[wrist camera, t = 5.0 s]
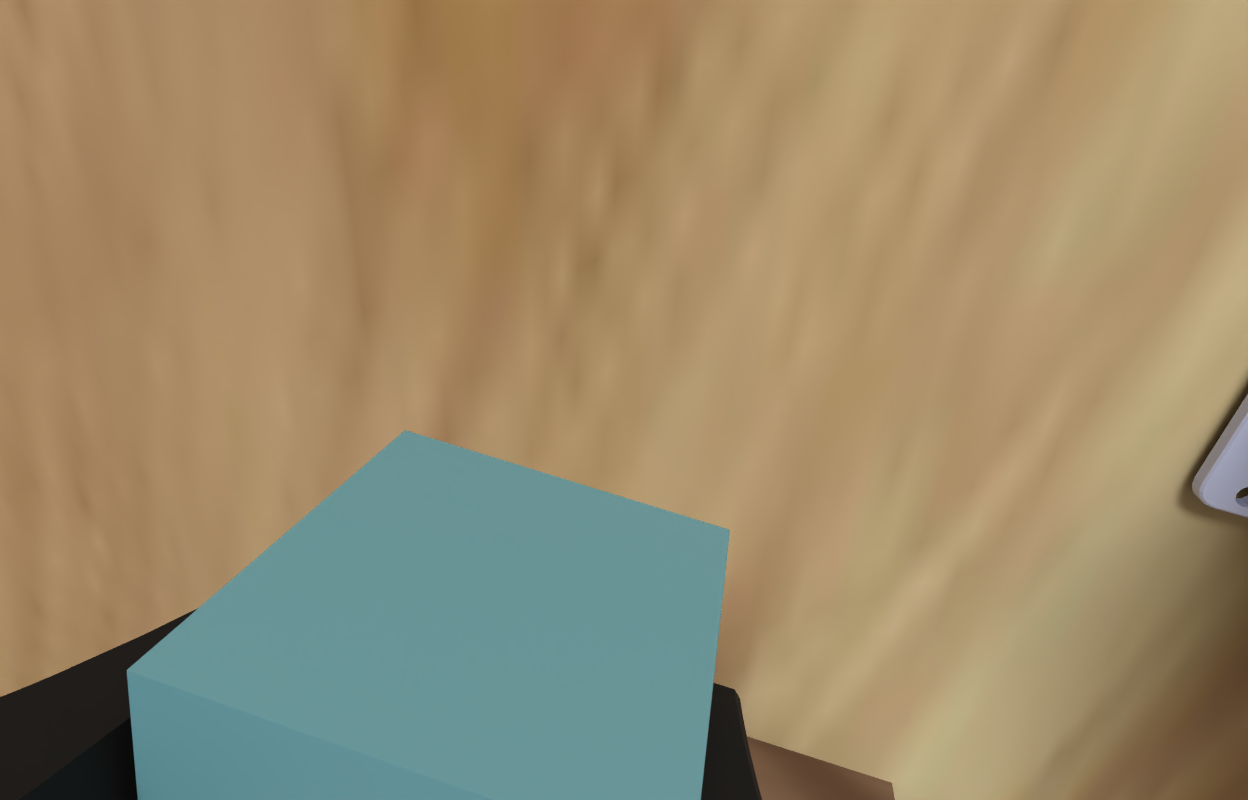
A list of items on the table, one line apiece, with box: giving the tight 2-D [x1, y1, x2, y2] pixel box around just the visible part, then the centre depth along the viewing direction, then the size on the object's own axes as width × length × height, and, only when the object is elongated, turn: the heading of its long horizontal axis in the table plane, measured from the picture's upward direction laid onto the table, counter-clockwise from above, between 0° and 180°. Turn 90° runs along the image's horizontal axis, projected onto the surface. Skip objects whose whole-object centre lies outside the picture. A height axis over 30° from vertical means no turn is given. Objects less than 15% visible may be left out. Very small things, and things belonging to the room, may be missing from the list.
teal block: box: [127, 430, 730, 800], centre depth 9 cm, size 5×5×5 cm
